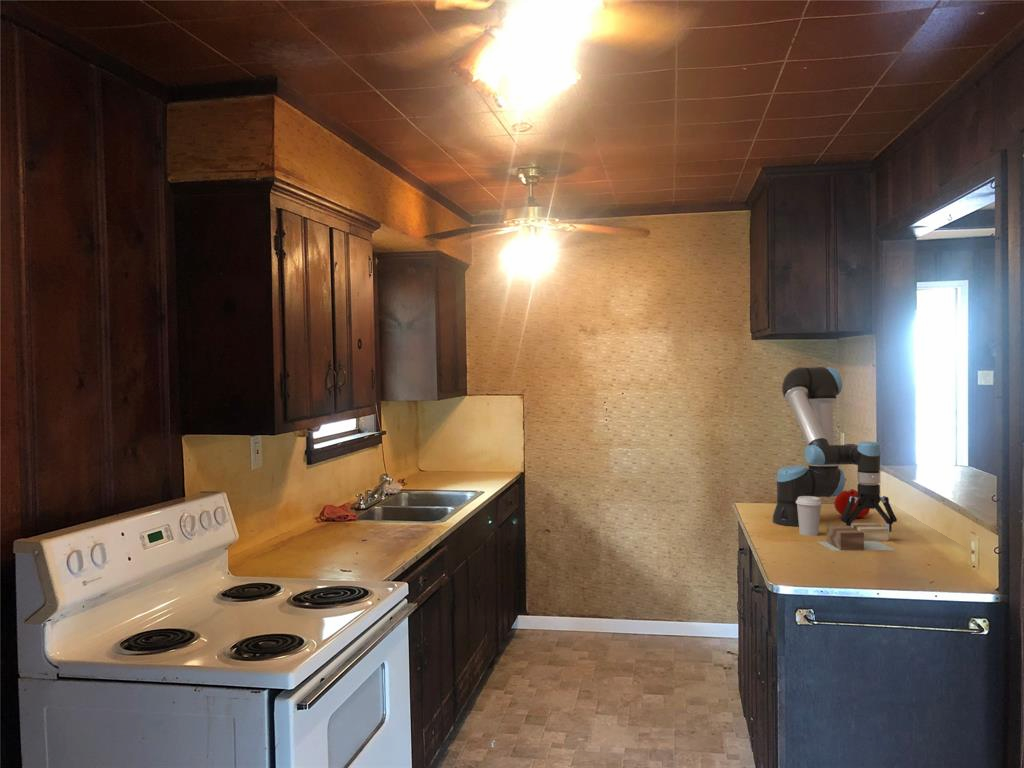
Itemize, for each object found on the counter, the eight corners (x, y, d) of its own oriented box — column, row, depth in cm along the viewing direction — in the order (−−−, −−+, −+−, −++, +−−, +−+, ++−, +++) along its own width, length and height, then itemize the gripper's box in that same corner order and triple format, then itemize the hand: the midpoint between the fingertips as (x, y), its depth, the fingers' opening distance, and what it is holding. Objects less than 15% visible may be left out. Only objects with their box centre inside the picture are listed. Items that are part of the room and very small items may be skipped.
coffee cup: (824, 540, 283) (824, 500, 283) (797, 539, 285) (797, 499, 285) (819, 534, 293) (819, 496, 292) (793, 533, 295) (793, 495, 294)
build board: (817, 544, 276) (817, 541, 276) (877, 544, 276) (877, 541, 276) (832, 553, 263) (832, 550, 263) (895, 553, 263) (895, 549, 263)
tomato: (868, 521, 317) (868, 493, 316) (832, 518, 324) (832, 490, 323) (871, 515, 328) (871, 488, 328) (836, 512, 335) (836, 486, 335)
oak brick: (849, 538, 286) (849, 523, 286) (876, 539, 286) (876, 523, 286) (859, 545, 276) (860, 528, 276) (888, 545, 276) (888, 528, 276)
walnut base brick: (826, 542, 275) (826, 525, 275) (848, 542, 275) (848, 525, 275) (840, 550, 263) (840, 533, 263) (863, 550, 263) (863, 533, 263)
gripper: (839, 485, 277) (839, 543, 277) (907, 484, 277) (907, 543, 277) (831, 482, 284) (831, 538, 285) (896, 481, 284) (896, 538, 285)
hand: (868, 541), depth 281 cm, fingers open, 12 cm apart
